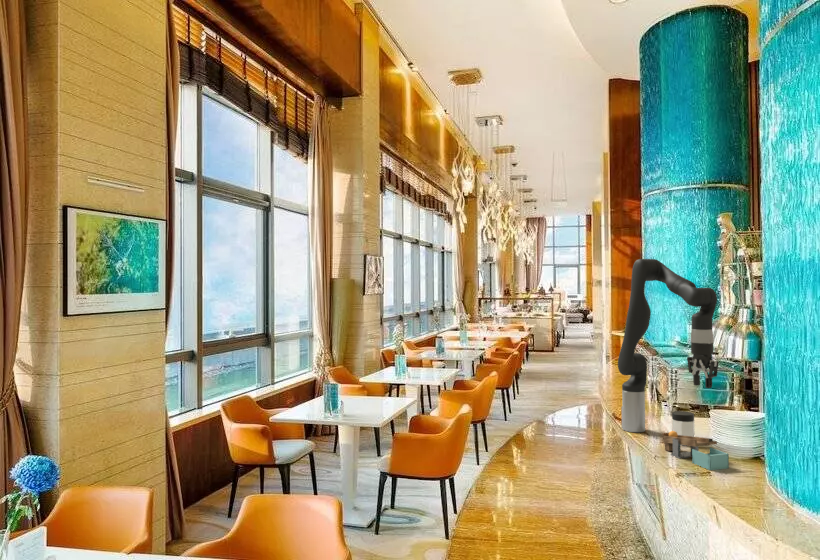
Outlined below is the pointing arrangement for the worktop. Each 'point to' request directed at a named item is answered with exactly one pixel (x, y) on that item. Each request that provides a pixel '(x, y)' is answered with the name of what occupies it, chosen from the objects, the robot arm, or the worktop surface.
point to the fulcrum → (677, 450)
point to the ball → (673, 434)
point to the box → (711, 459)
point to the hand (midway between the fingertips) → (702, 386)
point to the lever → (686, 441)
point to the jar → (683, 423)
